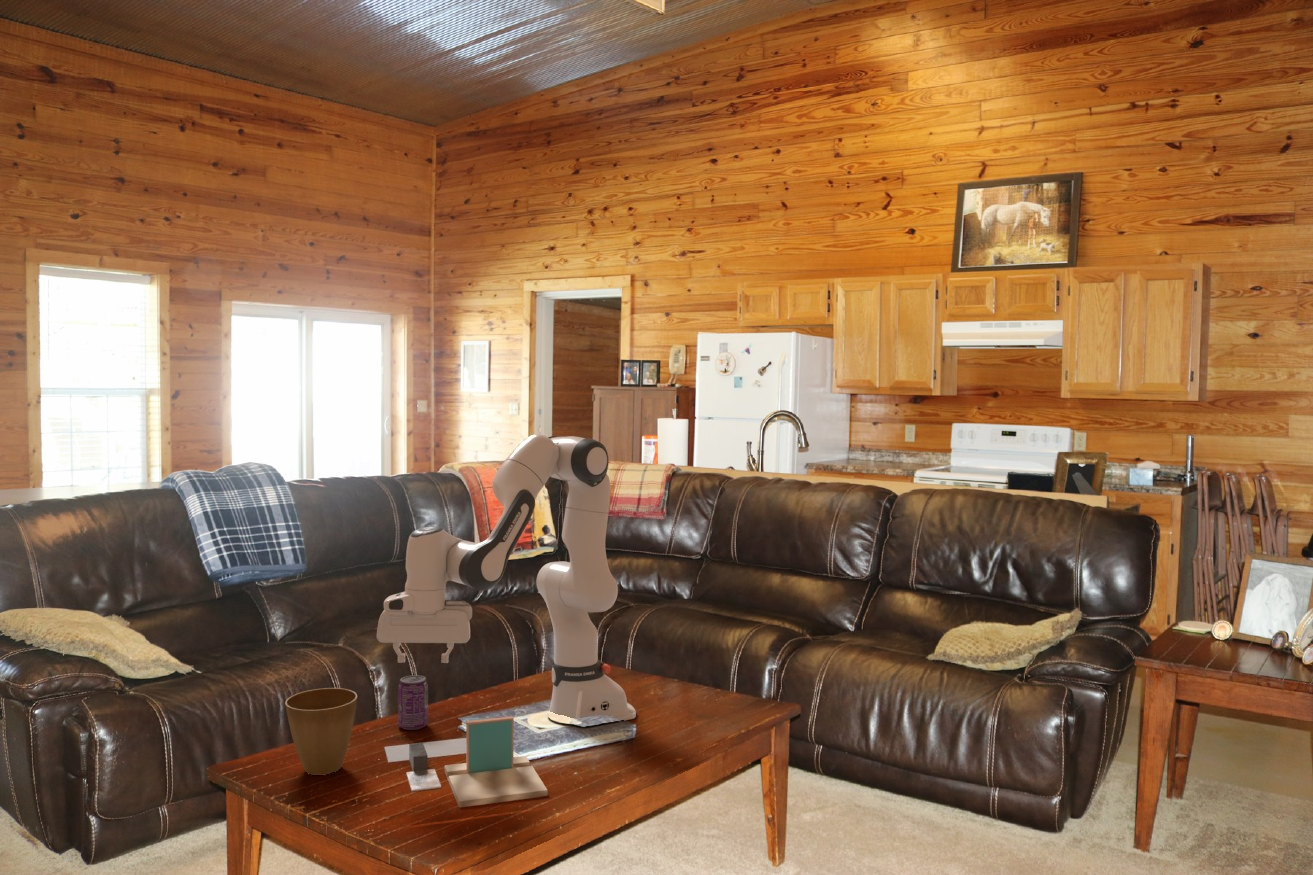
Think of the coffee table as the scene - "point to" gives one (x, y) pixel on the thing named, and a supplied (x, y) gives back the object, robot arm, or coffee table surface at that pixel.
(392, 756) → the tool mat
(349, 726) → the plant pot
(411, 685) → the beverage can
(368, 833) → the coffee table surface
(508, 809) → the coffee table surface
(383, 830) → the coffee table surface
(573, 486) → the robot arm
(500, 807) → the coffee table surface
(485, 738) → the tile
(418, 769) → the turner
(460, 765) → the tile stand
